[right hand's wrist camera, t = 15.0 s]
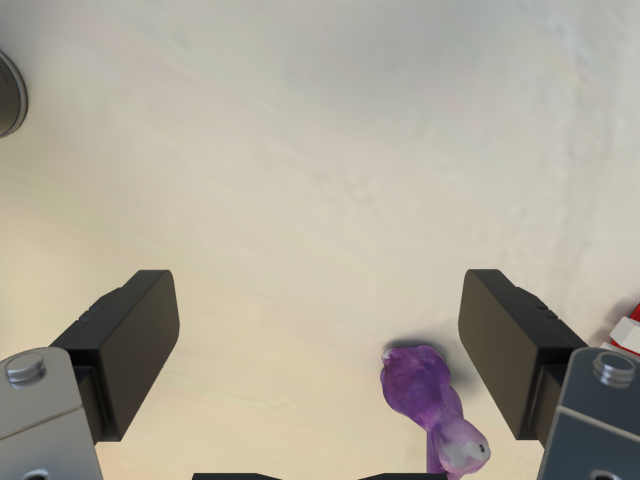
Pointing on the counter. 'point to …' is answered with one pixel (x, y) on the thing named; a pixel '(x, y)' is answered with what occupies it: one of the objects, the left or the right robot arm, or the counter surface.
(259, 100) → the counter surface
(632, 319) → the toy
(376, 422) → the counter surface
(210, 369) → the counter surface
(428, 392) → the figurine
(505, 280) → the right robot arm
